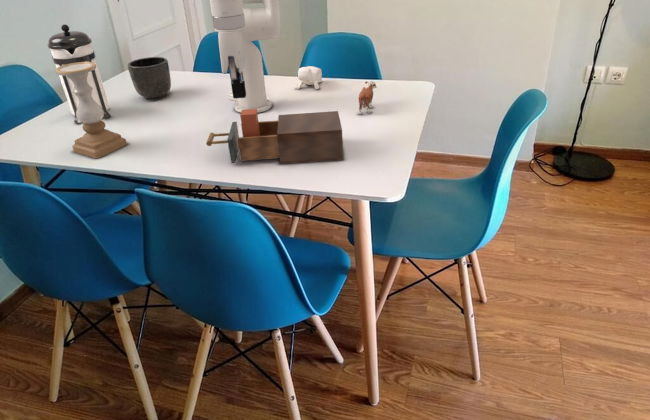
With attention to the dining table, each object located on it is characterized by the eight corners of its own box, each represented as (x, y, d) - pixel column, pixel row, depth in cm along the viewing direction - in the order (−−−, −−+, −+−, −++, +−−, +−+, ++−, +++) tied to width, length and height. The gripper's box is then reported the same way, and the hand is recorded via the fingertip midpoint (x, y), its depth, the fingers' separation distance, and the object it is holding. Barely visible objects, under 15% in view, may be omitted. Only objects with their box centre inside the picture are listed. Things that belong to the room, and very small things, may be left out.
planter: (182, 93, 185) (175, 58, 178) (153, 105, 175) (145, 69, 168) (157, 88, 192) (149, 55, 185) (128, 100, 182) (118, 64, 175)
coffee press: (127, 110, 172) (102, 19, 157) (91, 126, 160) (61, 30, 144) (91, 105, 179) (64, 17, 163) (54, 120, 167) (21, 28, 151)
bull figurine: (378, 102, 166) (378, 78, 162) (368, 117, 156) (368, 91, 151) (365, 101, 168) (365, 78, 163) (354, 116, 157) (354, 91, 153)
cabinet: (280, 164, 130) (277, 134, 126) (281, 143, 142) (278, 114, 137) (343, 160, 130) (342, 129, 126) (339, 139, 142) (337, 110, 137)
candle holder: (96, 158, 139) (69, 74, 126) (73, 151, 144) (44, 69, 131) (128, 144, 146) (105, 63, 134) (104, 138, 152) (80, 59, 139)
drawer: (207, 165, 130) (203, 141, 126) (214, 145, 140) (210, 123, 137) (290, 159, 130) (287, 135, 127) (290, 140, 141) (288, 118, 137)
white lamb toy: (302, 90, 191) (291, 87, 177) (303, 67, 190) (291, 63, 175) (323, 90, 189) (314, 88, 175) (324, 67, 188) (315, 63, 173)
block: (245, 152, 133) (240, 115, 127) (246, 146, 136) (241, 109, 131) (260, 151, 133) (255, 114, 127) (261, 145, 136) (256, 108, 131)
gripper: (218, 17, 124) (229, 88, 133) (208, 30, 111) (221, 108, 121) (248, 15, 124) (256, 87, 133) (241, 28, 111) (251, 106, 121)
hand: (239, 96), depth 127 cm, fingers closed
